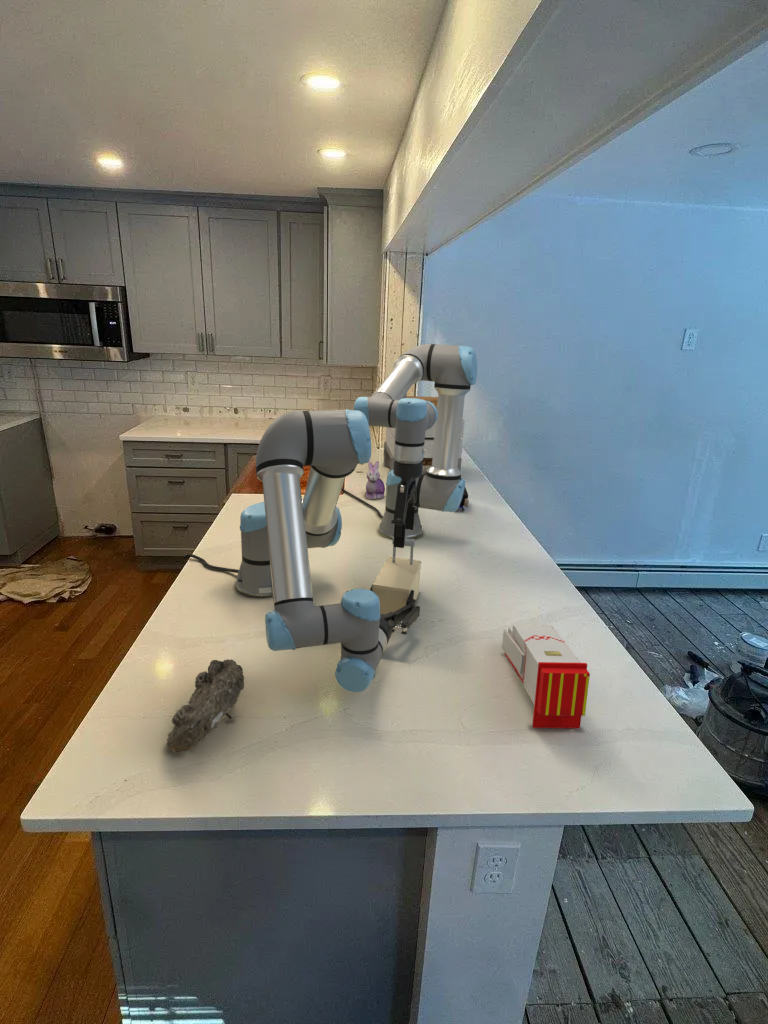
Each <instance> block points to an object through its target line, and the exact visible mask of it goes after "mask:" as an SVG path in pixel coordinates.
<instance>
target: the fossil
mask: <svg viewBox="0 0 768 1024" xmlns="http://www.w3.org/2000/svg"><path fill="white" fill-rule="evenodd" d="M243 670H244V669H243V667H242V665H240V664H237V662H236V661H235V660H234V659H232V658H231V659H227V658H226V659H224V660H223V661H222V660H217V659H212V660H211V661H210V663H209V665H208V666H207V671H201V672H199V673H198V674H197V675H196V676H195V680H194V684H195V685H194V687H195V689H194V690H193V693H192V694H191V697H190V698H189V700H188V704H184V705H182V706H181V707H180V709H177V710H176V711H175V713H174V715H173V716H172V718H171V723H172V724H173V727H172V730H171V731H170V732H168V734H167V738H166V741H167V742H166V745H167V749H168V750H169V751H173V752H174V753H176V754H178V753H182V752H188V751H189V752H192V751H193V750H195V748H196V747H197V746H199V744H200V743H201V742H203V741H204V740H205V739H206V738H207V737H208V736H209V735H210V734H211V733H212V732H214V730H215V729H217V727H218V726H219V724H220V722H221V721H222V720H223V719H224V718H225V716H226V717H227V719H229V720H233V717H232V715H230V714H229V710H230V709H231V708H234V706H235V704H236V703H237V702H238V699H239V697H240V695H241V693H242V691H243V690H245V689H244V688H245V675H244V671H243Z"/></svg>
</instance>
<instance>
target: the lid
mask: <svg viewBox="0 0 768 1024" xmlns="http://www.w3.org/2000/svg"><path fill="white" fill-rule="evenodd" d="M391 542H392V544H393V543H394V537H393V539H392V541H391ZM415 546H416V538H415V539H407V538H405V542H404V547H409V548H410V552H409V553H410V554H409V558H404V557H396V556H397V547H393V546H392V556H387V558H386V560H385V562H384V564H383V565H382V567H381V569H380V570H379V572H378V574H377V576H376V578H375V580H374V581H373V583H372V585H373V587H375V588H382V589H389V590H395V591H402V592H409V591H410V589H411V587H412V584H413V582H414V579H415V577H416V574H417V572H418V570H419V567H420V565H421V566H422V560H419V559H414V549H415Z"/></svg>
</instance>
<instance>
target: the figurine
mask: <svg viewBox="0 0 768 1024" xmlns="http://www.w3.org/2000/svg"><path fill="white" fill-rule="evenodd" d="M367 465H368V471H367V473H366V478H367V482H366V484H365V491H366V492H365V496H364V497H366V499H368V500H377V499H378V500H379V499H382V498H384V497H385V493H386V485H385V483H384V481H383V480H382V479H381V473H380V471H379V466H380V461H379V460H377V461H376V462H375V463H374V464H373V462H372V461H369V462H368V463H367Z"/></svg>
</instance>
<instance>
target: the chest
mask: <svg viewBox="0 0 768 1024" xmlns="http://www.w3.org/2000/svg"><path fill="white" fill-rule="evenodd" d="M421 567H422V564H421V565H420V567H419V570H418V572H417V574H416V577H415V579H414V582H413V584H412V587H411V589H410V591H409V592H402V591H395V590H389V589H382V588H375V587H373V589H372V592H374V593H375V594H376V595H377V596H378V597H379V601H380V614H388V613H390V612H395V611H397V610H399V609H401V608H402V607H404V606H406V601H407V599H408V597H409V594H410V592H411V590H414V599H415V600H416V601H417V598H418V596H419V594H420V582H421V581H420V579H421ZM402 621H403V620H402Z"/></svg>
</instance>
